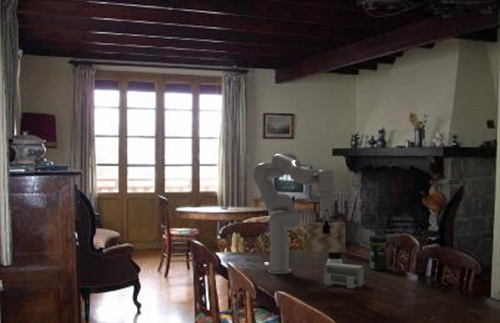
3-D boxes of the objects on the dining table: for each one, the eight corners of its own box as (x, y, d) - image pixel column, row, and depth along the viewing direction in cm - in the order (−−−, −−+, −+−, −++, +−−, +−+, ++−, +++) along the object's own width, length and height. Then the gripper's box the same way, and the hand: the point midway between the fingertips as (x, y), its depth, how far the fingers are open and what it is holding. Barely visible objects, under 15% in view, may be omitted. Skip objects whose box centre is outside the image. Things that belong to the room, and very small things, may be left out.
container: (341, 278, 269) (342, 252, 269) (326, 277, 271) (326, 252, 271) (342, 274, 277) (342, 250, 277) (327, 274, 278) (327, 249, 278)
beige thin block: (308, 252, 256) (307, 223, 256) (307, 251, 259) (307, 222, 259) (345, 252, 255) (345, 223, 255) (344, 251, 258) (344, 222, 258)
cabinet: (320, 284, 256) (320, 266, 256) (328, 280, 265) (328, 262, 265) (357, 289, 247) (357, 270, 247) (363, 284, 257) (363, 265, 257)
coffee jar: (380, 266, 298) (381, 233, 298) (389, 269, 291) (389, 235, 290) (366, 267, 294) (366, 234, 294) (374, 270, 287) (374, 236, 287)
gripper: (316, 194, 266) (317, 231, 266) (319, 196, 250) (319, 235, 249) (331, 194, 265) (332, 230, 265) (335, 196, 249) (335, 235, 249)
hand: (326, 232), depth 257 cm, fingers closed on beige thin block, 2 cm apart
